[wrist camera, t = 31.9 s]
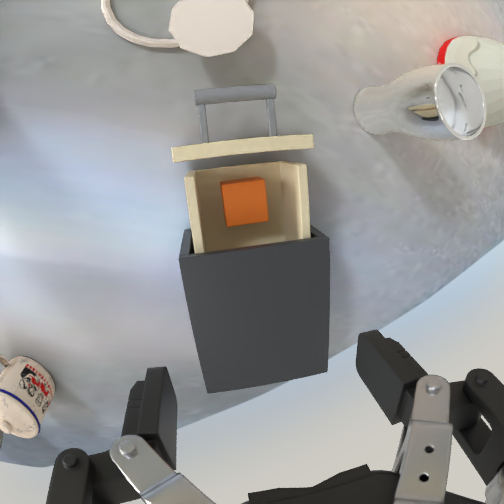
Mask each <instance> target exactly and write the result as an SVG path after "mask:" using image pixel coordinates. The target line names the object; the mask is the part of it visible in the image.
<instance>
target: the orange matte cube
mask: <svg viewBox="0 0 504 504" xmlns="http://www.w3.org/2000/svg"><path fill="white" fill-rule="evenodd" d="M220 189H221V197H222V204H223V212H224V219H225V223H226V226H227V227H231V226H238V225H245V224H252V223H259V222H266V221H269V216H268V206H267V196H266V187H265V179H263V178H261V177H251V178H243V179H235V180H228V181H221V182H220Z"/></svg>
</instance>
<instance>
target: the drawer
mask: <svg viewBox="0 0 504 504" xmlns="http://www.w3.org/2000/svg"><path fill="white" fill-rule="evenodd" d="M194 94H195V105H196V106H198V111H199V121H200V131H201V140H202V144H194V145H187V146H180V147H173V148H172V157H173V162H174V163H175V162H182V161H189V160H196V159H203V158H211V157H219V156H228V155H237V154H247V153H257V152H268V151H281V150H295V149H311V148H314V141H313V134H304V135H286V136H277V128H276V117H275V107H274V99H275V98H276V87H275V85H274V84H263V85H246V86H233V87H221V88H211V89H202V90H195V91H194ZM264 99H267V100H266V105H267V115H268V125H269V136H270V137H258V138H247V139H237V140H227V141H218V142H210V143H209V140H208V130H207V120H206V111H205V105H206V104H215V103H225V102H236V101H248V100H264ZM251 177H261V178H263V179H265V187H266V196H267V206H268V216H269V221H266V222H259V223H252V224H245V225H238V226H231V227H227V226H226V223H225V219H224V212H223V204H222V197H221V189H220V182H221V181H228V180H235V179H243V178H251ZM184 180H185V188H186V196H187V203H188V210H189V217H190V224H191V231H192V238H193V244H194V250H195V254H197V253H204V252H211V251H218V250H225V249H232V248H240V247H247V246H254V245H262V244H269V243H276V242H283V241H291V240H298V239H306V238H311V233H310V212H309V195H308V179H307V165H306V164H301V163H295V162H289V161H275V162H264V163H254V164H244V165H235V166H226V167H218V168H210V169H202V170H195V171H188V173H187V174H186V176H185V178H184Z"/></svg>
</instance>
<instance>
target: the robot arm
mask: <svg viewBox="0 0 504 504" xmlns="http://www.w3.org/2000/svg"><path fill="white" fill-rule="evenodd" d="M356 368H357V371H358V374H359V376H360V377H361V379H362V380H363V382H364V383H365V385H366V386H367V388H368V389H369V391H370V392H371V394H372V395H373V397H374V398H375V400H376V401H377V403H378V404H379V406H380V407H381V409H382V410H383V412H384V413H385V415H386V416H387V418H388V420H389V421H390V422H391V424H392V425H394V424H397V423H399V422H402V423H403V424H404V427H403V430H402V434H401V439H400V443H399V447H398V451H397V455H396V459H395V463H394V466H393V469H392V471H383V470H375V471H374V470H373V471H370V469H369V467H368V466H367V464H366V465H362V466H360V467H356V468H353V469H350V470H347V471H344V472H341V473H338V474H336V475H335V476H333V477H331V478H329V479H327V480H325V481H323V482H321V483H319V484H318V485H315V486H313V487H307V488H276V489H271V490H266V491H260V492H253V493H248V497H249V501H247V502H244V503H242V504H504V385H503V384H502V383H501V382H500V381H499V380H498V379H497V378H496V377H495V376H494V375H493V374H492V373H491V372H490V371H488V370H485V369H473V370H471V371H470V372H469V373H468V374H467V377H466V379H465V381H458V382H451V383H448V381H446V379H444V378H443V377H441V376H438V375H428V374H427V373H426V371H425V370H424V369H423V368H422V367H421V366H420V365H419V364H418V363H417V362H416V361H415V360H414V359H413V357H411V356H410V354H409V353H408V352H407V351H405V349H404V348H403V347H402V346H401V345H400V344H399V342H396V341H394V340H393V339H391V338H386V339H385V338H384V337H383V336H382V334H381V333H380V332H379V331H378V330H372V331H368V332H364V333H360V334H359V336H358V346H357V357H356ZM481 415H483V416H484V418H485V419H486V420H487V421H488V423H489V424H490V426H491V428H492V431H491V430H490V429H489V428H488V426H487V425H486V423H485V422H484V421H483V420H482V419H481ZM176 434H177V400H176V395H175V392H174V389H173V386H172V383H171V379H170V376H169V373H168V370H167V368H166V367H155V368H148V369H147V373H146V378H145V381H137V382H136V383H135V385H134V386H133V387H132V389H131V390H130V395H129V401H128V404H127V409H126V414H125V419H124V424H123V430H122V435H121V437H120V438H118V439H116V440H115V441H114V442H113V443H112V445H111V447H110V450H108V451H105V452H102V453H98V454H93V455H89V456H88V455H87V454H86V453H85V452H84V451H83V450H81V449H78V448H70V449H67V450H64V451H63V452H61V453H60V454H59V455H58V456H57V458H56V460H55V464H54V468H53V472H52V477H51V482H50V486H49V491H48V496H47V501H46V504H120V503H124V502H128V501H132V500H136V499H140V498H141V499H142V500H143V501H144V502H145V504H216V503H214V502H213V501H212V500H211V499H210V498H208V497H207V496H206V495H205V494H204V493H203V492H201V491H200V490H199V489H198V488H197V487H196V486H195V485H194V484H193V483H191V482H190V481H189V480H188V479H187V478H186V477H185V476H184V475H182V474H181V473H176V472H175V471H174V470H176V436H177V435H176ZM452 434H453V436H454V437H455V439H456V440H457V442H458V443H459V445H460V446H461V448H462V449H463V451H464V452H465V454H466V455H467V457H468V458H469V459H470V461H471V463H472V464H473V466H474V467H475V469H476V470H477V471H478V473H479V475H480V476H481V478H482V479H483V481H484V483H485V484H486V486H487V487H486V491H485V496H486V501H485V503H483V502H480V501H476V500H473V499H469V498H466V497H463V496H460V495H457V494H454V493H451V492H447V491H446V485H447V478H448V471H449V463H450V454H451V444H452Z"/></svg>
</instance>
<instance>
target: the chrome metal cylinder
mask: <svg viewBox="0 0 504 504" xmlns="http://www.w3.org/2000/svg"><path fill="white" fill-rule="evenodd" d="M354 114H355V117H356V120H357V122H358V123H359V125H360V126H361V127H362V128H363V129H364V130H365V131H367V132H368V133H370V134H373V135H385V134H388V133H390V132H399V133H402V134H405V135H409V136H412V137H415V138H420V139H424V140H433V141H453V140H472V139H474V138H476V137H477V136H478V135H479V134H480V133H481V131H482V130H483V128H484V125H485V122H486V115H487V107H486V100H485V96H484V92H483V90H482V87H481V85H480V83H479V81H478V80H477V78H476V77H475V76H474V74H473V73H472V72H471V71H470V70H469V69H468V68H466V67H465V66H463V65H461V64H458V63H448V64H439V65H431V66H425V67H420V68H417V69H414V70H411V71H408V72H406V73H404V74H402V75H400V76H399V77H397V78H396V79H394V80H392V81H391V82H389V83H388V84H386V85H384V86H368V87H365V88H363V89H362V90H361V91H360V92H359V93H358V94H357V96H356V98H355V101H354Z"/></svg>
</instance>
